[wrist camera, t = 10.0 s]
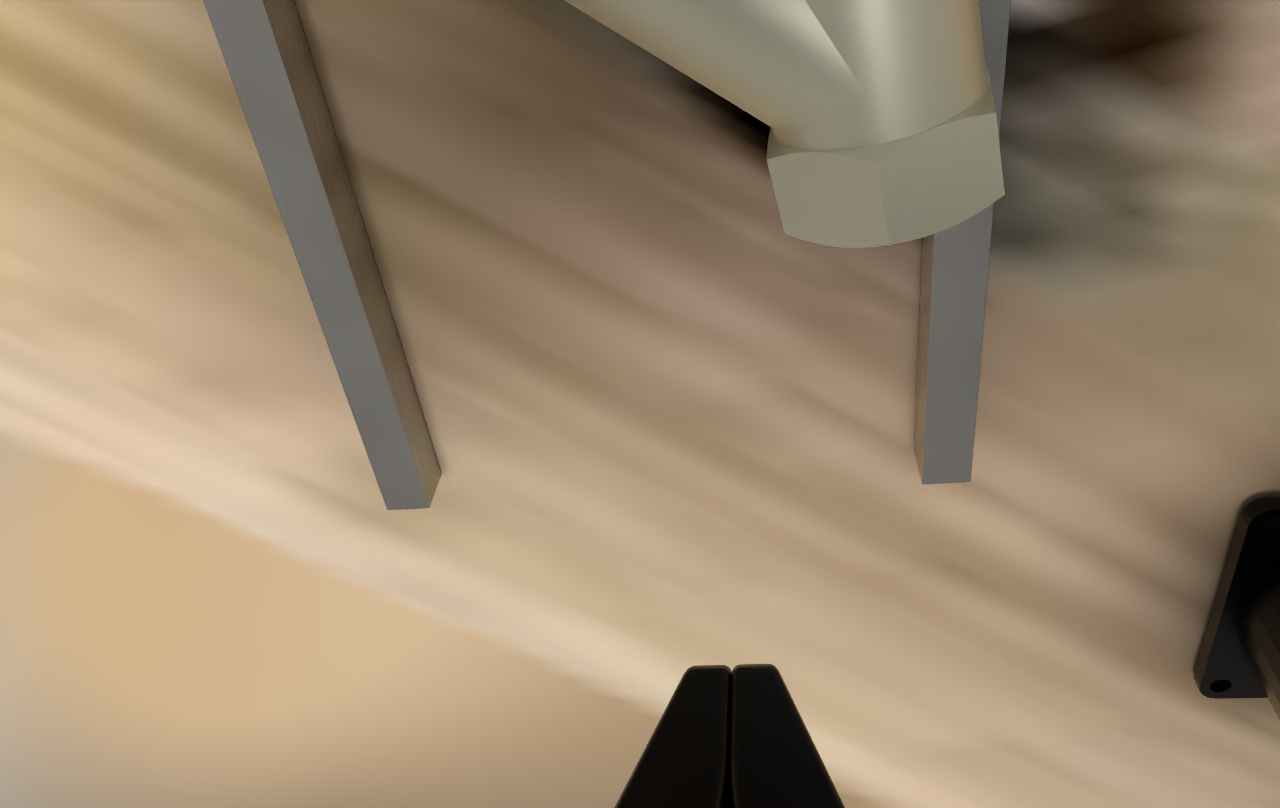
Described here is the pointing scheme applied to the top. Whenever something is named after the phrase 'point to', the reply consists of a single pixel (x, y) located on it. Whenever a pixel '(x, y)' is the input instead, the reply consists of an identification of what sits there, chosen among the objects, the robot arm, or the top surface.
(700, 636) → the top surface
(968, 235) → the grey metal bars
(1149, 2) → the top surface
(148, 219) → the top surface
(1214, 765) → the top surface
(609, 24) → the pipe fitting
